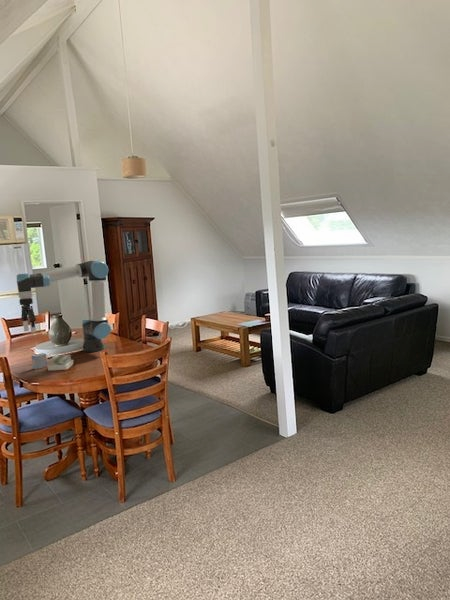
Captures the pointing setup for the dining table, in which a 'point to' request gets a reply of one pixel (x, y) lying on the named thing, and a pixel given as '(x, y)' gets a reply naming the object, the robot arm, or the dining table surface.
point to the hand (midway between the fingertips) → (30, 331)
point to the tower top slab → (60, 360)
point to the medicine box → (39, 361)
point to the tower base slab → (61, 366)
